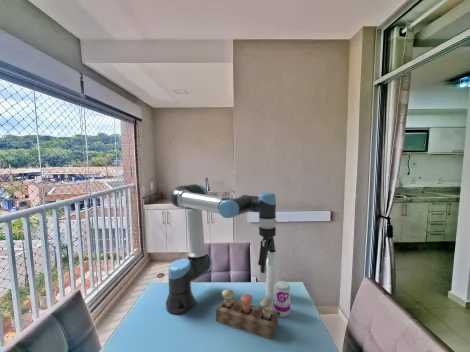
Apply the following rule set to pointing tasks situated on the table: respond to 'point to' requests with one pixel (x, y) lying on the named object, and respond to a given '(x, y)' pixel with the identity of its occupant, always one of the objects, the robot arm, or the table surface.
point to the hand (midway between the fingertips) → (267, 271)
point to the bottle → (272, 276)
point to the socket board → (247, 319)
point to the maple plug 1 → (227, 298)
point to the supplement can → (282, 298)
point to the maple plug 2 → (266, 308)
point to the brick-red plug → (246, 303)
